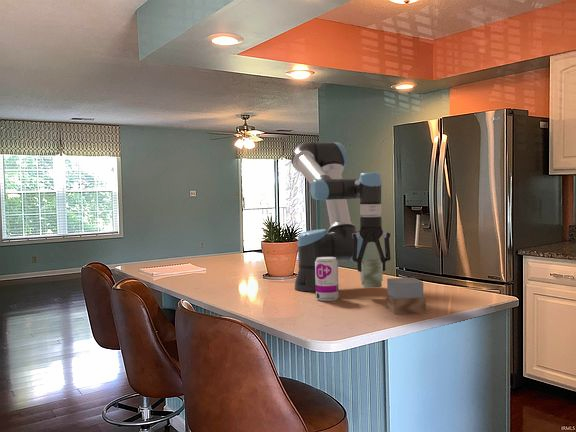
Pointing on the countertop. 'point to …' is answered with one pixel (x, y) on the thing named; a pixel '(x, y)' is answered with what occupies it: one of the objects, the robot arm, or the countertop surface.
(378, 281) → the pillar block
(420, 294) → the block
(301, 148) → the robot arm
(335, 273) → the supplement can
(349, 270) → the countertop surface
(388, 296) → the tower base
